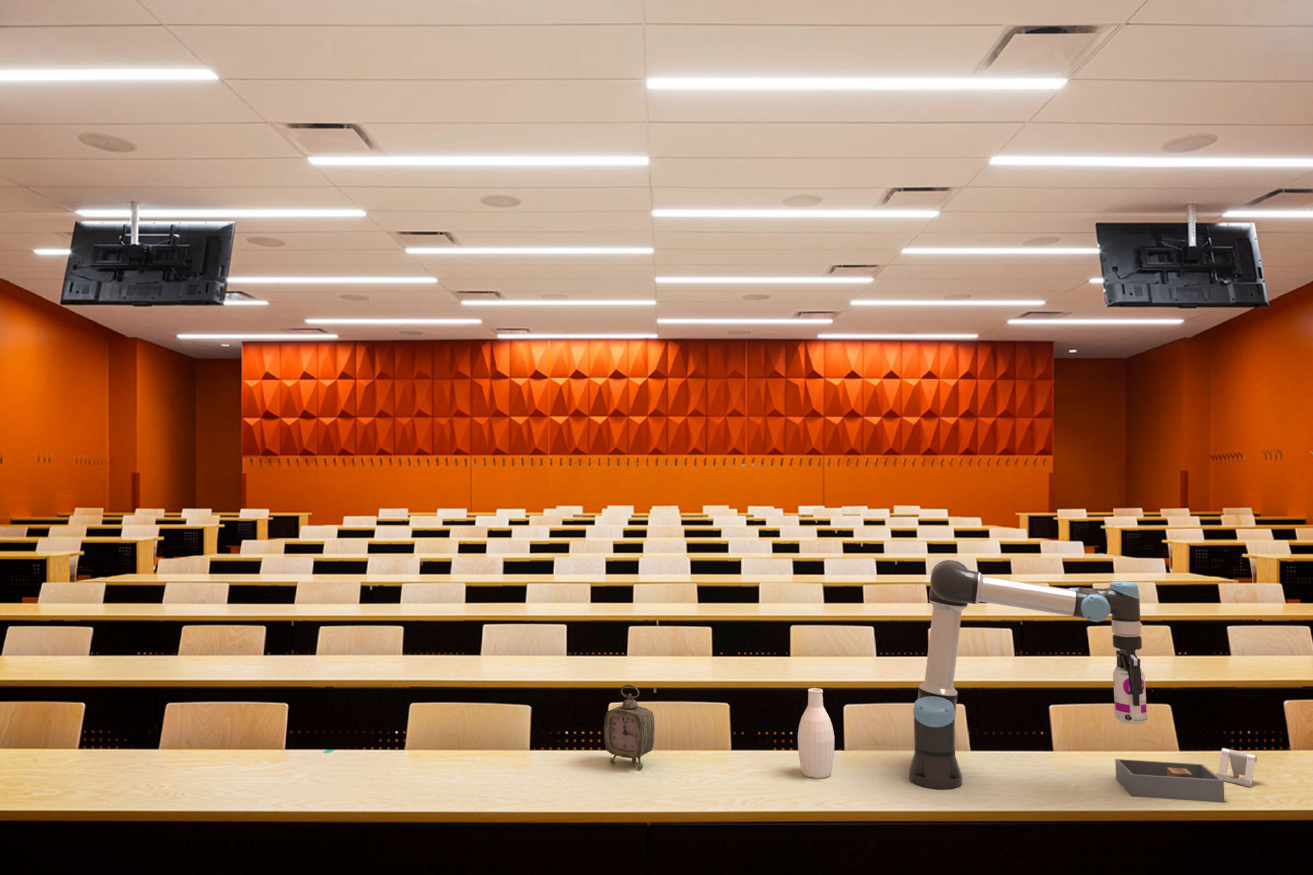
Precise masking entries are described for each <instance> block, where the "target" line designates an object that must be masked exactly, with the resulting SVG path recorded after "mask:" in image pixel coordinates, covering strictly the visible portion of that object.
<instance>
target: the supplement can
mask: <svg viewBox="0 0 1313 875" xmlns="http://www.w3.org/2000/svg"><path fill="white" fill-rule="evenodd" d="M1140 670H1141V679H1142V688H1143V694H1141V695H1140V701H1141V717H1131V716H1130V701H1129V694H1128V692H1130V687H1129V676H1128V671H1126V670H1125V669H1124V668H1121V667H1117V666H1116V667H1115V668H1114V670H1113V672H1112V680H1113V697H1114V698H1113V700H1114V702H1113V703H1114V717H1115V718H1116V719H1117V721H1119V722H1122V723H1125V724H1131V725H1138V724H1139V725H1140V724H1145V722H1146V721H1147V720H1148V714H1147V713H1148V712H1147V710H1148V709H1147V695H1146V694H1147V691H1146V675H1145V674H1144V672H1143V669H1142V668H1140Z"/></svg>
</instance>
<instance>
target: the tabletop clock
mask: <svg viewBox="0 0 1313 875" xmlns="http://www.w3.org/2000/svg"><path fill="white" fill-rule="evenodd" d="M625 688H633V689H635V690H636V691H637V695H634V696H633V695H632V694H633V693H628V695H627V694H625V693H623V690H624V689H625ZM620 694H621V695H622V696H623V697H624V698H626V699H625V700H624V701H623V702H622V704H621V705H620V706H616V707H615V708H612V709H610V710H607V711H606V713H605V716H604V722H603V723H604V724H603V735H604V736H603V738H604V746H605V749H606V752H608V753H609V754H611V755H613V756H612V757H611V758H610V759H609V763H610V765H611V764H612V765H613V764H614V763H615V759H616V757H620V758H625V759H626V758H627V759H631V763H632V764H633V763H634V764H636V762H638V764H637V769H638V770H642V769H643V764H642V763H641V758H642V757H643V756H644V755H646V754H649V753H650V752H652V751H653V748H654V743H655V730H656V729H655V728H656V727H655V717H654V712H653V711H652V710H650V709H649V708H646V707H643V706H640V705H639V704H638V701H636V700H635V699H637V698H638V697H639V696H640V690H639V689H638V687H637V686H635V685H633V684H625V685H622V687H621V689H620Z"/></svg>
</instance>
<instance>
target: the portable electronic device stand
mask: <svg viewBox="0 0 1313 875" xmlns="http://www.w3.org/2000/svg"><path fill="white" fill-rule="evenodd" d="M1229 761H1230V766H1231V771H1232V774H1233V777H1235V778H1232V777H1229V774H1228V765H1229ZM1257 762H1258V755H1256V754H1252V753H1247V752H1244V751H1238V750H1235V749H1230V748H1225V747H1222V748H1221V754H1220V760H1219V771H1218V772H1215V774H1216V775H1217V776H1218V777H1219V778H1221V779H1222V780H1223V781H1224V782H1227V783H1231V784H1235V785H1238V786H1244V787H1245V788H1252V786H1253V779H1254V778H1253V777H1254V769H1255V763H1257ZM1240 776H1244V778H1243V777H1240ZM1236 778H1237V779H1236Z"/></svg>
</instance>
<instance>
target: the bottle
mask: <svg viewBox="0 0 1313 875" xmlns="http://www.w3.org/2000/svg"><path fill="white" fill-rule="evenodd" d="M807 691H808V694H807V696H808V698H807V700H808V701H807V706H806V708H805V710H804V712H803V714H802V716H801V718H800V721H799V725H798V732H797V750H798V758H799V759H798V760H799V765H800V770H801V773H802V774H803V775H804V776H805V777H807V778H810V777H812V779H826V778H829V777H831V775H832V772H833V768H834V767H833V766H834V759H835V734H834V728H833V723H832V721H831V718H830V716H829V714H828V713H827V710H826V708H825V706H824V697H823V693H824V691H823V689H822V688H817V687H812V688H808V689H807Z"/></svg>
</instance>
